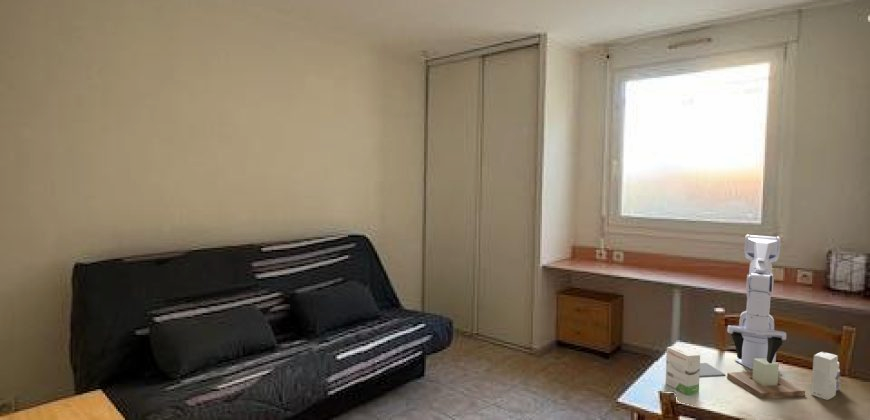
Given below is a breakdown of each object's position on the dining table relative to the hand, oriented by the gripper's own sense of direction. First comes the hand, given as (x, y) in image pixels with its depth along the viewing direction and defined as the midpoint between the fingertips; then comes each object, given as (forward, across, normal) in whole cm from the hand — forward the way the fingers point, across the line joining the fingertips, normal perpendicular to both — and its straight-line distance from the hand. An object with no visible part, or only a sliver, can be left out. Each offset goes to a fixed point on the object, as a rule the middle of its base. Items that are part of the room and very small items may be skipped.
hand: (754, 360), depth 145 cm
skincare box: (+10, +20, +7) cm, 23 cm away
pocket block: (+10, +5, +7) cm, 13 cm away
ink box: (+11, -19, -2) cm, 22 cm away
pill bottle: (+9, +24, +13) cm, 28 cm away
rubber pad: (+9, -10, +14) cm, 20 cm away
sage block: (+10, +5, +7) cm, 13 cm away
